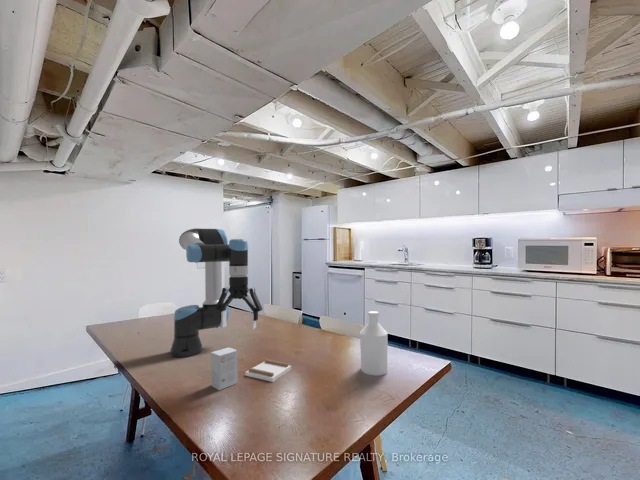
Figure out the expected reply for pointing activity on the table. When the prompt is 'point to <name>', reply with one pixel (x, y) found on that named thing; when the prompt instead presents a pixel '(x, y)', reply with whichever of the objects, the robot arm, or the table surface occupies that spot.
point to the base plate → (269, 370)
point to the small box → (223, 368)
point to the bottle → (373, 346)
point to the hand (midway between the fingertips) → (238, 327)
